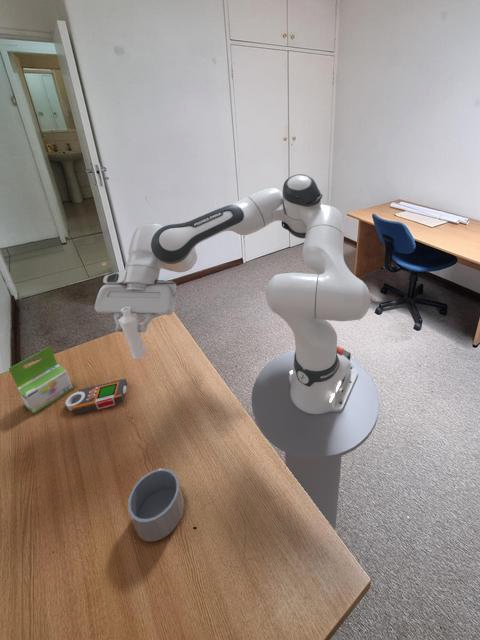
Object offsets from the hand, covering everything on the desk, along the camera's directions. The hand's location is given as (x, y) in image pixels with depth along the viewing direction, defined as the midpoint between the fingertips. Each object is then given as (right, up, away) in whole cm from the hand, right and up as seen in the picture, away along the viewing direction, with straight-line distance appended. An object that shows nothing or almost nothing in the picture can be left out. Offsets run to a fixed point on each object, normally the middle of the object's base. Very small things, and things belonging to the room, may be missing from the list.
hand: (130, 331), depth 85 cm
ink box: (-28, -21, +9) cm, 36 cm away
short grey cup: (+15, -33, -17) cm, 40 cm away
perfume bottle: (0, -7, +4) cm, 9 cm away
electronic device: (-13, -22, +8) cm, 27 cm away
